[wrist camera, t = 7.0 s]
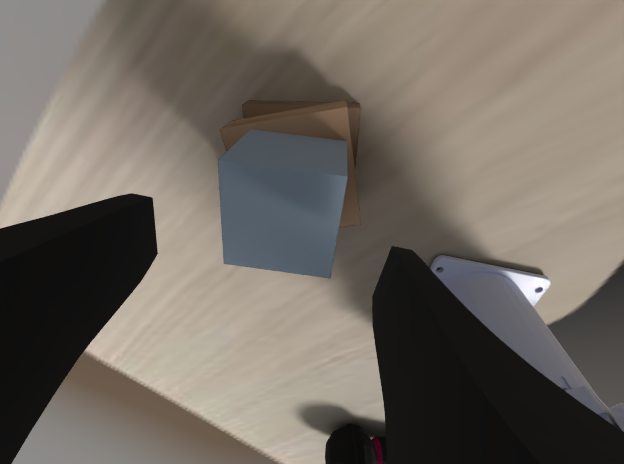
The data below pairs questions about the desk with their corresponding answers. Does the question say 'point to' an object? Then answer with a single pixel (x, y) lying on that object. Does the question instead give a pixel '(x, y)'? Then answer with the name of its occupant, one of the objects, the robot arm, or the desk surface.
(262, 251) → the cube
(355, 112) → the tower base
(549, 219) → the desk surface
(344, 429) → the microphone
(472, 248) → the desk surface
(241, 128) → the tower mid
